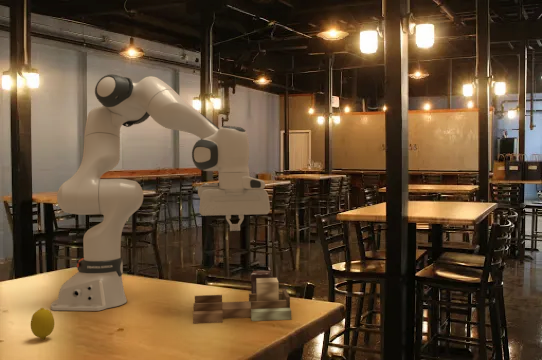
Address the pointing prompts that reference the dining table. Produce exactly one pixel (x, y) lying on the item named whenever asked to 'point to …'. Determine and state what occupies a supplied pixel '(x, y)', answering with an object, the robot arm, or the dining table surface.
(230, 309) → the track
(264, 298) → the block
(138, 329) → the dining table surface
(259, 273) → the box
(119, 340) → the dining table surface
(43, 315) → the lemon
